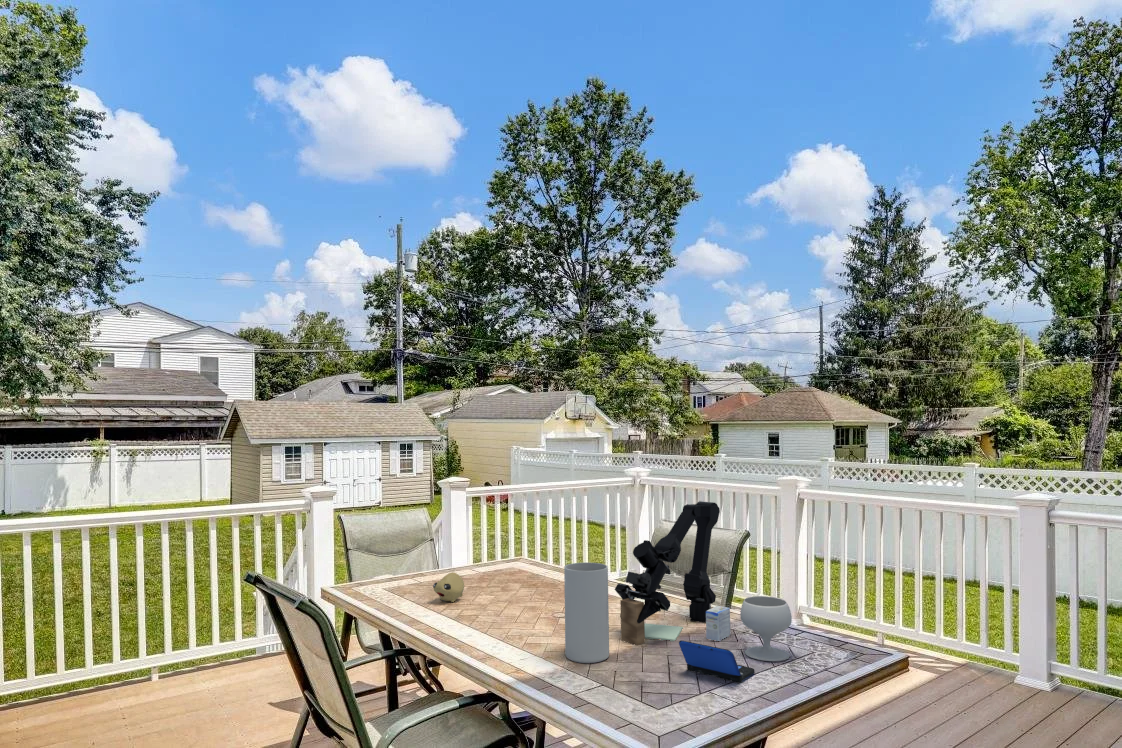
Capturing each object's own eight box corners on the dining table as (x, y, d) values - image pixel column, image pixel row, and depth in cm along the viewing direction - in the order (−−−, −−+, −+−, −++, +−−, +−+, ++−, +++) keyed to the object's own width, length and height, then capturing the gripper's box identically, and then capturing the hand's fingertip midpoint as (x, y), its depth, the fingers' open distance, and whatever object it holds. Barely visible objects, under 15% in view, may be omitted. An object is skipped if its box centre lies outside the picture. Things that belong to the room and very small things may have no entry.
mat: (683, 628, 215) (683, 626, 215) (674, 641, 202) (674, 639, 202) (634, 624, 220) (634, 622, 220) (623, 636, 207) (623, 634, 207)
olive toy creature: (428, 603, 250) (428, 574, 251) (448, 596, 260) (449, 569, 261) (448, 607, 245) (448, 577, 246) (469, 599, 255) (469, 571, 256)
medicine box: (717, 633, 209) (716, 605, 210) (731, 636, 206) (730, 607, 207) (706, 639, 203) (705, 610, 204) (719, 642, 200) (718, 613, 201)
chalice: (741, 661, 184) (739, 605, 185) (741, 645, 197) (739, 593, 198) (795, 665, 180) (792, 608, 181) (791, 649, 193) (789, 596, 195)
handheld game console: (756, 674, 175) (755, 638, 175) (733, 689, 164) (732, 651, 165) (703, 661, 185) (702, 627, 186) (678, 675, 175) (677, 639, 175)
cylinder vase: (607, 665, 182) (605, 571, 184) (562, 663, 184) (560, 570, 186) (611, 650, 194) (609, 562, 196) (569, 648, 196) (567, 562, 199)
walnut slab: (644, 642, 201) (644, 602, 202) (637, 645, 198) (636, 604, 199) (628, 638, 206) (628, 598, 207) (621, 640, 203) (620, 600, 204)
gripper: (618, 557, 214) (594, 598, 205) (663, 565, 200) (639, 610, 191) (635, 578, 218) (612, 619, 210) (680, 588, 204) (658, 632, 196)
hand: (629, 620), depth 202 cm, fingers closed on walnut slab, 6 cm apart
